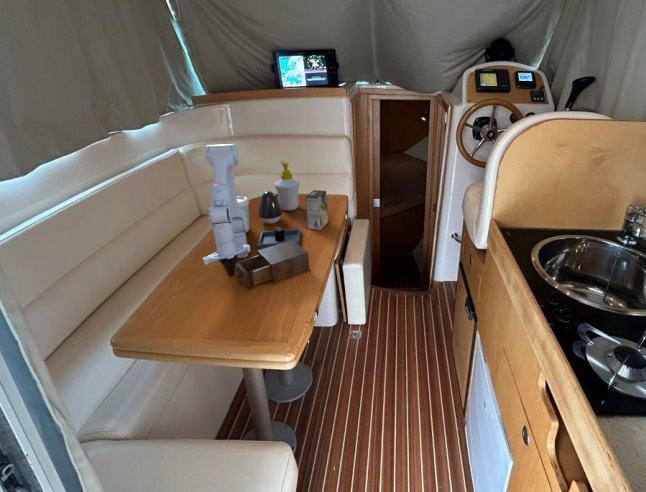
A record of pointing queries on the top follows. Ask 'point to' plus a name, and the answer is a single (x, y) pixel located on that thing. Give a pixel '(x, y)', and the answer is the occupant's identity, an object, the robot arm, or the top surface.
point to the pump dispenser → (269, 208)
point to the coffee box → (317, 209)
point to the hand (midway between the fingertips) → (230, 275)
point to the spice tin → (279, 234)
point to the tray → (269, 240)
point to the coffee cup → (243, 206)
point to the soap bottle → (287, 189)
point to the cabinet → (285, 260)
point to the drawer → (253, 271)
